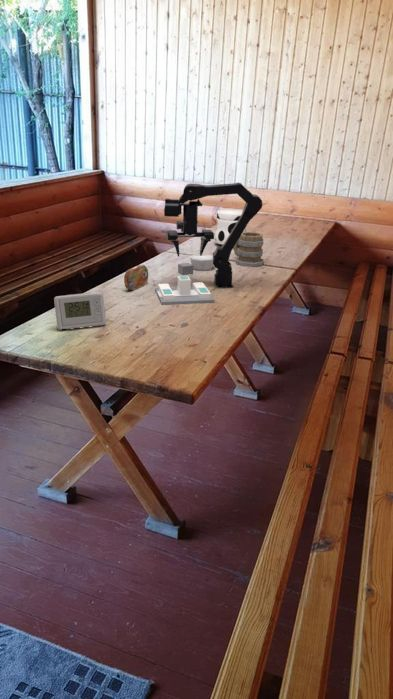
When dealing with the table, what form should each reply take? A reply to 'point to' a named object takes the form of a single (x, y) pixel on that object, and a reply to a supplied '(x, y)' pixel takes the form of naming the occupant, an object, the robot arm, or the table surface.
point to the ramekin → (202, 262)
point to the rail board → (173, 297)
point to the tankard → (249, 249)
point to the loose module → (184, 285)
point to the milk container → (226, 224)
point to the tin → (136, 277)
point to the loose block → (185, 268)
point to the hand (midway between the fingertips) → (189, 256)
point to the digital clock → (80, 310)
